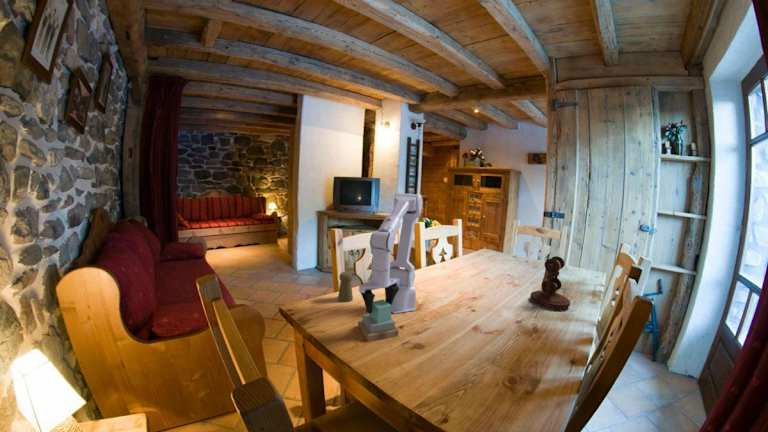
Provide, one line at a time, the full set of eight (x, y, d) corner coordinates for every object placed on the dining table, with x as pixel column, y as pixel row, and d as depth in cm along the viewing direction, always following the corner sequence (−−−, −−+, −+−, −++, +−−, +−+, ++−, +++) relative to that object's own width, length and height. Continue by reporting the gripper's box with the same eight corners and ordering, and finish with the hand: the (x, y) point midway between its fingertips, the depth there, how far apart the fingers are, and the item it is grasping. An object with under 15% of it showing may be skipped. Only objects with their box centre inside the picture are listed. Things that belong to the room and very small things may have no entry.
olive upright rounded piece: (350, 303, 118) (351, 276, 116) (335, 301, 119) (336, 274, 118) (354, 297, 124) (355, 271, 122) (340, 295, 125) (341, 269, 123)
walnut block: (385, 323, 105) (385, 316, 104) (397, 338, 96) (398, 330, 95) (357, 327, 101) (358, 320, 100) (368, 343, 92) (368, 336, 91)
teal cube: (382, 313, 101) (383, 299, 100) (390, 320, 97) (391, 305, 96) (369, 316, 98) (370, 302, 97) (377, 323, 94) (378, 308, 93)
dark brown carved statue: (537, 293, 138) (542, 251, 135) (573, 304, 128) (580, 259, 125) (524, 302, 128) (530, 256, 125) (563, 314, 117) (570, 265, 115)
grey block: (384, 318, 103) (384, 311, 103) (394, 329, 96) (394, 322, 96) (362, 321, 100) (362, 314, 100) (371, 333, 93) (371, 326, 92)
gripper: (391, 262, 103) (389, 300, 105) (354, 268, 94) (353, 309, 96) (404, 268, 97) (402, 308, 99) (367, 275, 89) (365, 318, 90)
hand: (378, 309), depth 97 cm, fingers open, 7 cm apart
